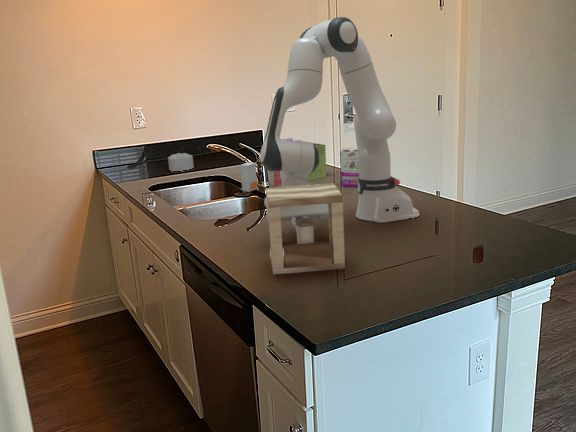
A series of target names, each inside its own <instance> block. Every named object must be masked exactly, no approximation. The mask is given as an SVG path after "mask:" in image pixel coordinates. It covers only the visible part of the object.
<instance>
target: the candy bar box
mask: <svg viewBox="0 0 576 432" xmlns="http://www.w3.org/2000/svg"><path fill="white" fill-rule="evenodd" d="M339 161H340V162H339V163H340V187H341V186H343V187H345V188H358V178H359V156H358V148H341V149H340V150H339Z"/></svg>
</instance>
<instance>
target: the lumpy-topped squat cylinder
mask: <svg viewBox="0 0 576 432" xmlns="http://www.w3.org/2000/svg"><path fill="white" fill-rule="evenodd" d="M193 157H194V156H193V155H191V154H188V153H187V152H183V153H181V152H178V153H176V154H175V153H174V154H171V155H170V156H168V157H167V163H168V170H169V171H172V172H171V173H174V172H173V171H181V172H184V171H183V170H188V171H190V170H189V169H192V168H194V158H193ZM194 169H195V168H194ZM192 170H193V169H192Z"/></svg>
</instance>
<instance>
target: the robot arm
mask: <svg viewBox="0 0 576 432" xmlns="http://www.w3.org/2000/svg"><path fill="white" fill-rule="evenodd" d="M291 45H292V46H291V48H290V53H289V59H288V66H287V77H286V79H285V81H284V82H285V83H284V84H283V86H281V87H279V88H278V89H277V90H276V93H275V96H274V98H273V102H272V104H271V105H272V106H271V110H270V113H269V117H268V118H269V119H268V122H267V127H266V132H265V136H264V139H263V142H262V146H261V149H260V153H259V159H260V160H259V161H260V164H261V165H262V166H263V167H264V169H266V170H267V171H269V172H274V171H280V177H281V179H282V184H281V187H289V186H302V185H316V183H312V182H309V180H308V181H307V176H308V175H310V174H311V173H312V172H313V171H314V170H315V169H316V168H317V167H318V165H319V152H318V149H317V147H316V146H315V145H314V144H313V143H314V142H311V141H303V140H301V141H295V140H293V141H289V140H283V139H281V134H282V128H283V124H284V119H285V114H286V112H287V111H288V110H289V109H290V108H292V107H296V106H298V105H302V104H304V103H308V102H310V101H312V100H315V98H316V97H317V96H318V95H319V94H320V92H321V89H322V85H323V78H324V77H323V76H324V75H323V72H324V70H323V69H324V65H323V63H324V60H325V59H327V58H332V57H333V58H335V60H336V61H337V65H338V70H339V73H340V75H341V78H342V79H341V80H342V81H343V85H344V88H345V90H346V94H347V97H348V98H349V100H350V102H351V105H352V106H353V109H354V111H355V113H354V116H353V125H354V131H355V140H356V147H357V148H356V149H358V156H359V178H358V187H357V192H358V203H357V209H356V212H355V217H356V218H357V219H359V220H364V221H369V222H375V223H388V222H389V223H390V222H394V221H402V220H409V218H411V219H415V217H417V218H419V217H420V211H419V210H418V209H417V208H416V207H414V206H413V201H412V199H411V196H410V195H408V194H407V193H406V192H404V191H403V190H402V189H400V188H399V187H397V186H399V185H400V184H401V181H400V180H399V179H398V178H396V177H393V176H392V175H391V173H392V171H391V152H390V149H389V144H388V139H390V138H392V136H393V135H394V134H395V131H396V129H397V121H396V118H395V117H394V115H393V113H392V111H391V108H390V106H389V104H388V101H387V99H386V96H385V94H384V92H383V90H382V88H381V85H380V82H379V79H378V77H377V72H376V70H375V67H374V64H373V60H372V57H371V56H370V53H369V50H368V48H367V46H366V44H365V42H364V40H363V39H362V37H361V36H360V35H359V33H358V29H357V27H356V25H355V23H354V22H353V20H351V19H350V18H348V17H347V16H346V17H345V16H339V17H334V18H332V19H327V20H323V21H321V22H319V23H318V24H315V25H314V26H313V27H309V28H307V29H306V30H304V31H303V32H302V33H301V35H300V36H299V38H298V39H296V40H295V41H294V42H293V43H292V44H291ZM263 202H264V203H263V204H264V206H265V208H266V221H268V222H269V219H268V204H267V198H266V197H265V198H264V199H263ZM418 216H419V217H418ZM280 217H281V223H282V222H283V223H284V222H291V225H292V226H293V227H294V228H295V233H297V228H296V223H295V221H296V220H297V219H300V218H312V219H314V220H319V219H329V214H328V203H327V204H314V205H301V206H288V207H280Z"/></svg>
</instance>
